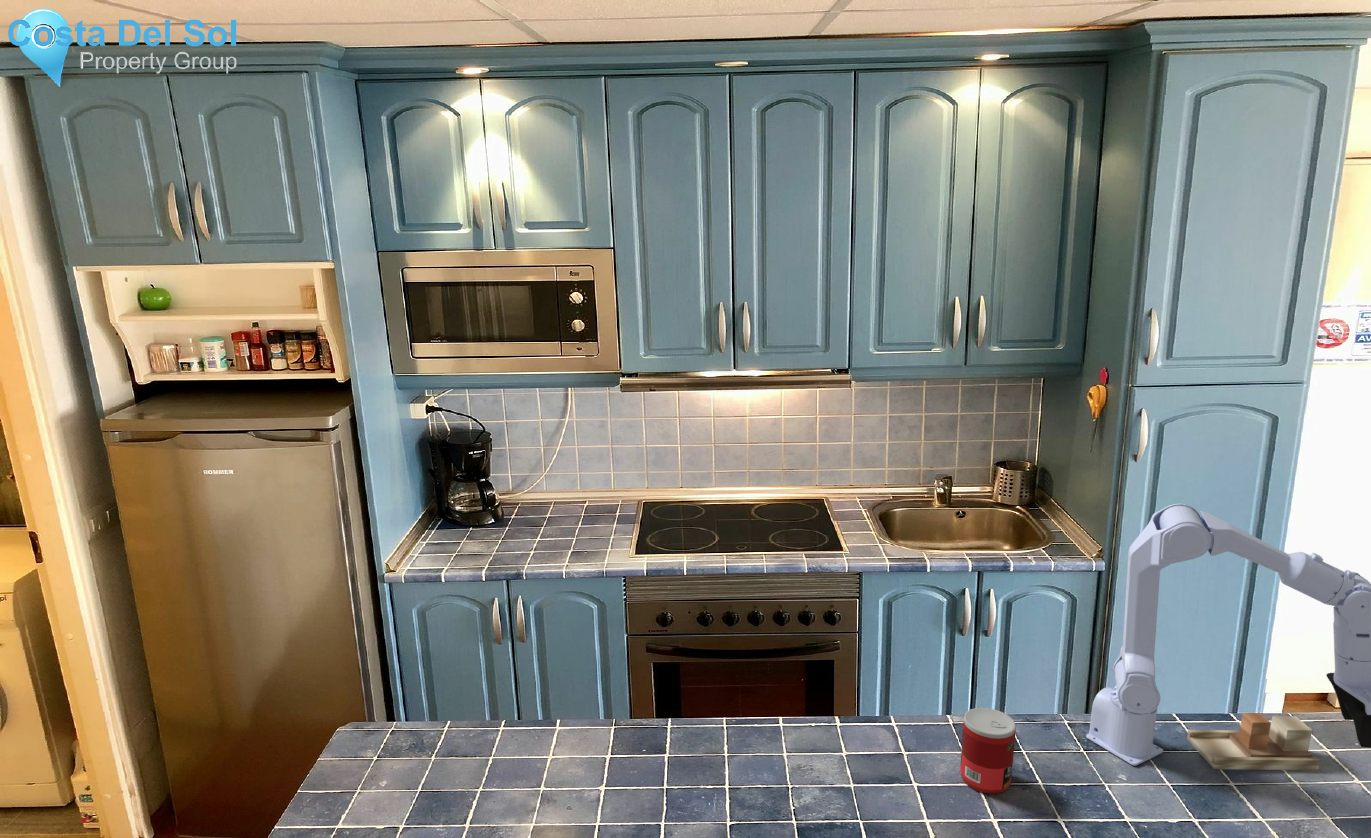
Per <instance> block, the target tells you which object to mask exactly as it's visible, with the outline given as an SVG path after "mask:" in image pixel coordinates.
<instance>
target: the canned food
mask: <svg viewBox="0 0 1371 838" xmlns="http://www.w3.org/2000/svg"><path fill="white" fill-rule="evenodd" d="M1016 727H1017V726H1016V723H1015V720H1014V718H1012V717H1011V716H1009V715H1008V714H1006V713H1005V712H1003V711H1000V710H997V709H995V708H994V709H993V708H989V707H976V708H975V707H974V708H970V709H969V710H968V711H966V712H965V713H964V716H963V724H962V735H961V736H962V739H961V753H960V754H961V755H960V767H959V772H960V776H961V779H962V780H963V782H964V783H965V784H966V785H967V786H969V787H970V788H971V789H973V790H976V791H977V792H981V793H984V794H989V795H990V794H992V795H993V794H994V795H995V794H1001V793H1004V792H1006V791H1008V789H1009V787H1010V785H1011V783H1012V777H1013V766H1014V765H1013V763H1014V756H1015V755H1014V753H1015V745H1016V743H1015V742H1016V732H1017V731H1016V730H1017V728H1016Z"/></svg>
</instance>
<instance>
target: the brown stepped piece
mask: <svg viewBox="0 0 1371 838" xmlns="http://www.w3.org/2000/svg"><path fill="white" fill-rule="evenodd" d="M1270 727H1271V721H1270V720H1269V719H1268V718H1267V717H1265V716H1264V714H1262V713H1261V712H1242V715H1241V721H1240V726H1239V730H1240V732H1239V733H1230V736H1229V738H1230V739H1231V740H1232V742H1233V743H1234V744H1235V745H1236V746H1237V747H1238V748H1239V749H1240V750H1241V751H1242V752H1243V753H1244V754H1245V755H1246V756H1247V757H1288V758H1313V754H1312V753H1311V752H1310V751H1309V750H1308V751H1283V750H1282V749H1281V748H1280V747H1279V746H1278V745H1277V744H1276V743H1275V742H1274V741H1273V740H1272V739H1271V738H1270V737H1269V731H1270Z"/></svg>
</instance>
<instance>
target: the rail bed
mask: <svg viewBox="0 0 1371 838" xmlns="http://www.w3.org/2000/svg"><path fill="white" fill-rule="evenodd" d="M1239 732H1240V729H1239V730H1238V729H1188V730H1187V736H1186V740H1187V741H1188V742H1189V743H1190V744H1191V746H1193V748H1194V749H1195V750H1197V752H1198V753H1199V754H1200V755H1201V756H1202V758H1203V759H1204V760H1205V761H1206V762H1207V763H1208V764H1209V765H1210V766H1211V768H1212V769H1213V770H1251V771H1252V770H1253V771H1254V770H1258V771H1259V770H1261V771H1262V770H1264V771H1265V770H1266V771H1267V770H1269V771H1270V770H1271V771H1274V770H1275V771H1276V770H1277V771H1286V770H1289V771H1318V770H1319V768H1320V762H1321V760H1320V759H1319V758H1318V757H1312V758H1288V757H1247V756H1246V755H1245V754H1244V753H1243V752H1242V751H1241V750H1240V749H1239V748H1238V747H1237V746H1236V745H1235V744H1234V743H1233V742H1232V740H1231V739H1230V738H1229V736H1230V733H1239ZM1269 733H1270V731H1269Z"/></svg>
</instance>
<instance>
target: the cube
mask: <svg viewBox="0 0 1371 838" xmlns="http://www.w3.org/2000/svg"><path fill="white" fill-rule="evenodd" d="M1270 722H1271V725H1270V733H1269V737H1270V738H1271V739H1272V740H1273V741H1274V742H1275V743H1276V744H1277V745H1278V746H1279V747H1280V748H1281V749H1282V750H1283V751H1309V749H1310V744H1311V743H1310V742H1311V739H1312V734H1313V733H1312V732H1313V730H1312V728H1311V727H1309V726H1308V725H1307V724H1306V723H1305V722H1303V721H1302V720H1301V719H1300V718H1299V717H1298V716H1295V715H1294V716H1293V715H1292V716H1288V715H1283V716H1282V715H1281V716H1280V715H1273V716H1271V721H1270Z"/></svg>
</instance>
